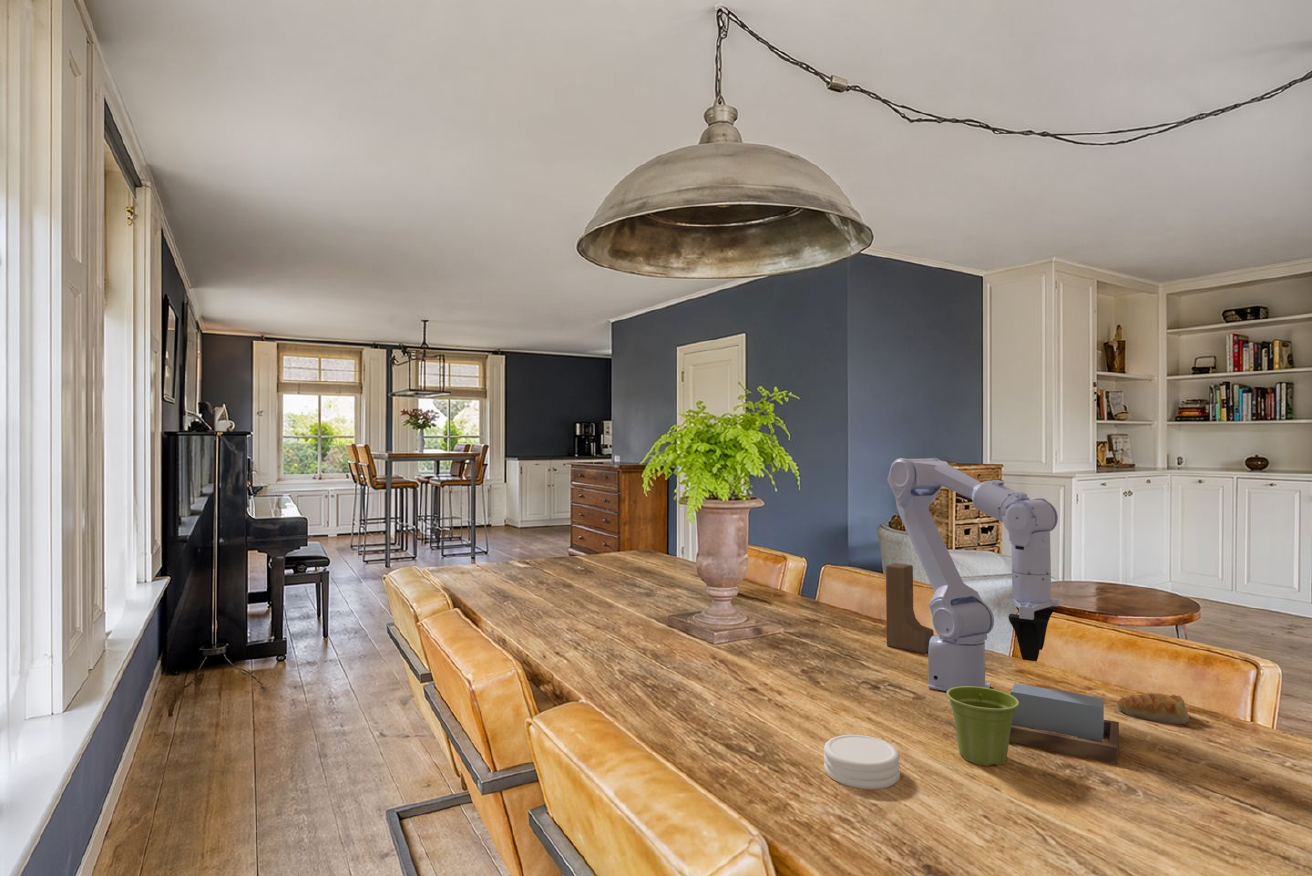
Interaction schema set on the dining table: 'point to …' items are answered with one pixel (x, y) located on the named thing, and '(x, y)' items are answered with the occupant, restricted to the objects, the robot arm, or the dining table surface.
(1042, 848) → the dining table surface
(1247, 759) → the dining table surface
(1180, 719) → the pastry
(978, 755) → the plant pot
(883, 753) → the coaster
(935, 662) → the robot arm
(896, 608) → the wooden block
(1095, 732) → the blue-grey rectangular block
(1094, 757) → the peg frame
